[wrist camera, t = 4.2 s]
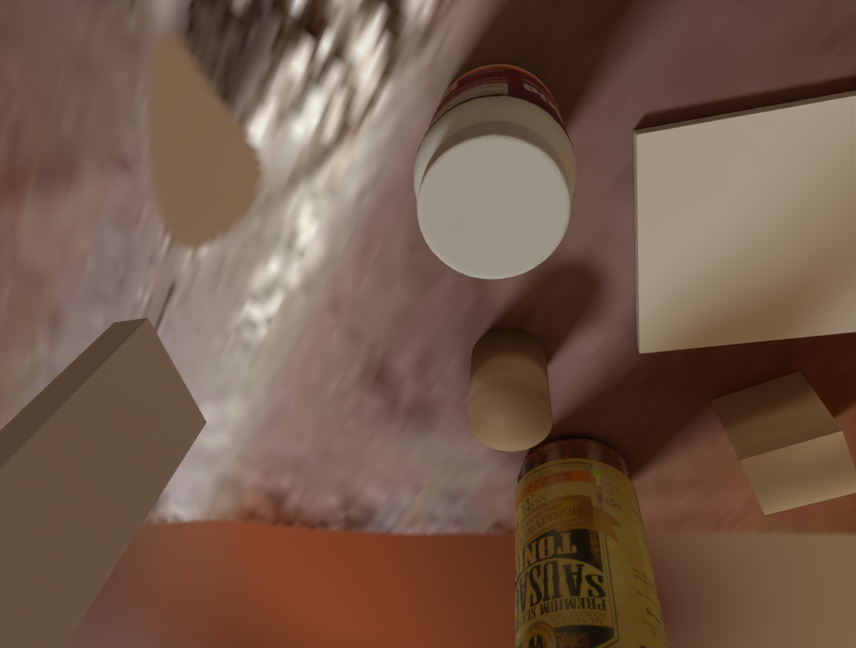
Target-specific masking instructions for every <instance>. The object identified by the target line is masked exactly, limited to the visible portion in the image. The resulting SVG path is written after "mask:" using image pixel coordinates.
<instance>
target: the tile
mask: <svg viewBox="0 0 856 648" xmlns="http://www.w3.org/2000/svg"><path fill="white" fill-rule="evenodd" d="M633 143H634V202H635V260H636V318H637V348H638V350H639V353H640V354H641V353H651V352H661V351H671V350H681V349H691V348H701V347H711V346H721V345H731V344H741V343H750V342H760V341H770V340H780V339H790V338H800V337H810V336H820V335H830V334H840V333H850V332H856V90H855V91H850V92H844V93H839V94H833V95H827V96H822V97H816V98H811V99H805V100H800V101H794V102H788V103H783V104H777V105H772V106H766V107H760V108H755V109H749V110H744V111H738V112H733V113H727V114H721V115H716V116H710V117H705V118H699V119H694V120H688V121H682V122H677V123H671V124H666V125H660V126H655V127H649V128H643V129H638V130H633Z"/></svg>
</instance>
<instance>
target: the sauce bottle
mask: <svg viewBox="0 0 856 648" xmlns="http://www.w3.org/2000/svg"><path fill="white" fill-rule="evenodd" d="M517 481H518V485H517V488H516V516H515V553H516V555H515V564H516V571H515V573H516V577H515V587H516V588H515V640H516V641H515V642H516V648H668V642H667V638H666V634H665V628H664V623H663V619H662V613H661V608H660V604H659V599H658V595H657V590H656V585H655V580H654V575H653V570H652V565H651V560H650V555H649V550H648V546H647V541H646V536H645V532H644V527H643V521H642V517H641V512H640V508H639V503H638V498H637V494H636V490H635V488H634V485H633V484H632V481H631V474H630V471H629V469H628V467H627V465H626V463H625V462H624V460H623V459H622V457H621V456H620V455H619V454H618V452H617V451H614V450H613V449H612V448H611V447H609V446H607V445H604V444H603V443H601V442H598V441H596V440H592V439H585V438H569V439H562V440H556V441H552V442H549V443H547V444H543V445H541V446H540V447H539V448H536V449H535V450H533V451H532V452H531V454H530V455H529V456H528V457H527V458H526V460H525V462H524V464H523V466H522V467H521V471H520V474H519V476H518V480H517Z"/></svg>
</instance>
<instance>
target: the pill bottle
mask: <svg viewBox="0 0 856 648" xmlns="http://www.w3.org/2000/svg"><path fill="white" fill-rule="evenodd" d="M413 182H414V189H415V194H416V198H417V216H418V222H419V226H420V229H421V232H422V234H423V236H424V239H425V241H426V243H427V244H428V246H429V247H430V249H431V250H432V251H433V252H434V253H435V254H436V256H437V257H438V258H439V259H440V260H442V261H443V262H444V263H445V264H447V265H448V266H450V267H451V268H453V269H454V270H456V271H458V272H461V273H463V274H466V275H469V276H472V277H476V278H483V279H501V278H508V277H513V276H516V275H519V274H522V273H525V272H527V271H529V270H531V269H533V268H534V267H536V266H537V265H539V264H540V263H542V262H543V261H544V260H545V259H547V258H548V257H549V256H550V255H551V254H552V252H553V251H554V250H555V249H556V248H557V246H558V245H559V243H560V242H561V240H562V238H563V236H564V234H565V232H566V230H567V227H568V224H569V219H570V213H571V200H572V197H573V193H574V189H575V182H576V162H575V157H574V153H573V146H572V143H571V141H570V138H569V136H568V134H567V132H566V129H565V125H564V123H563V120H562V118H561V115H560V112H559V110H558V108H557V106H556V103H555V101H554V99H553V97H552V95H551V93H550V92H549V90H548V89H547V87H546V86H545V85H544V84H543V83H542V82H541V80H540V79H538V78H537V77H536V76H535V75H533V74H532V73H530V72H528V71H526V70H525V69H522V68H520V67H517V66H513V65H508V64H492V65H486V66H482V67H479V68H476V69H473V70H471V71H469V72H467V73H466V74H464V75H462V76H461V77H460V78H459V79H457V80H456V81H455V82H454V83H453V84H452V85H451V86H450V87H449V89H448V90H447V91H446V93H445V94H444V96H443V97H442V99H441V101H440V103H439V105H438V107H437V110H436V112H435V114H434V117H433V119H432V121H431V123H430V125H429V128H428V130H427V132H426V134H425V137H424V138H423V140H422V143H421V145H420V147H419V149H418V152H417V155H416V159H415V164H414V171H413Z"/></svg>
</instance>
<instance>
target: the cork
mask: <svg viewBox="0 0 856 648" xmlns="http://www.w3.org/2000/svg"><path fill="white" fill-rule="evenodd" d="M552 422H553V420H552V409H551V400H550V391H549V382H548V372H547V363H546V354H545V350H544V348H543V346H542V344H541V343H540V341H539V340H538V339H537V338H536V337H534V336H533V335H531V334H530V333H528V332H525V331H523V330H519V329H513V328H504V329H498V330H494V331H492V332H489V333H487V334H486V335H484V336H483V337H482V338H480V339H479V340H478V342H477V343H476V344H475V346H474V348H473V351H472V356H471V370H470V383H469V396H468V410H467V425H468V428H469V430H470V432H471V433H472V435H473V436H474V437H475V438H476V439H477V440H478V441H479V442H481V443H482V444H484V445H486V446H488V447H490V448H493V449H497V450H501V451H520V450H525V449H528V448H531V447H533V446H535V445H537V444H539V443H540V442H541V441H543V440H544V439H545V438H546V437H547V435H548V434H549V432H550V430H551V427H552Z"/></svg>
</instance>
